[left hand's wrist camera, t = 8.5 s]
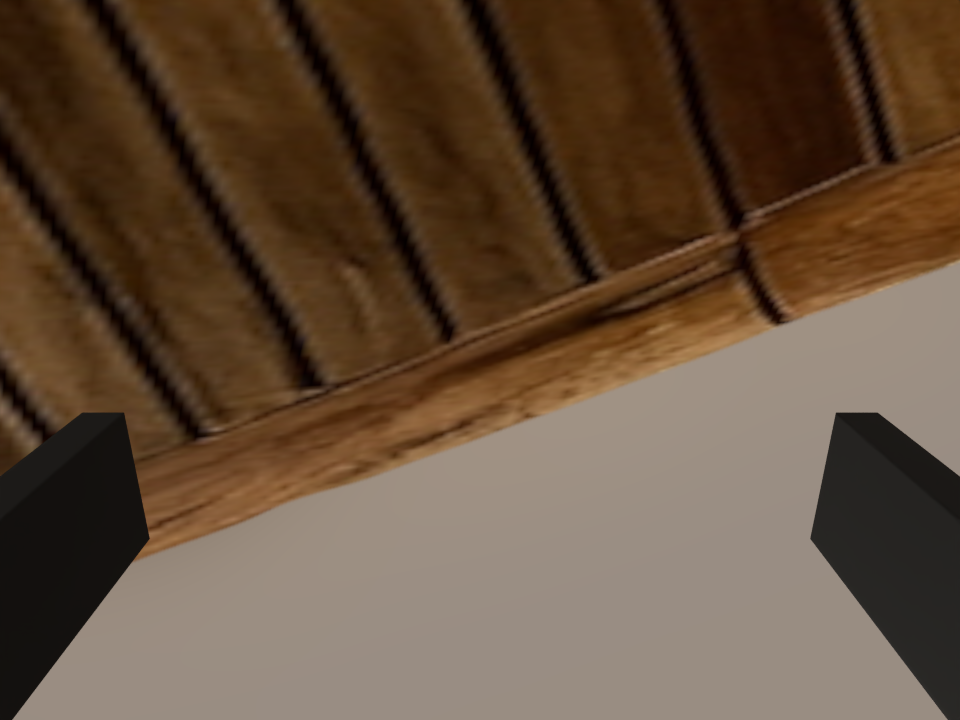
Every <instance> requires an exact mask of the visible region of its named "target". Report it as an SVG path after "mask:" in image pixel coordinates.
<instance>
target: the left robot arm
mask: <svg viewBox="0 0 960 720" xmlns="http://www.w3.org/2000/svg"><path fill="white" fill-rule="evenodd" d="M149 539H150V538H149V533H148V528H147V523H146V518H145V514H144V509H143V504H142V499H141V494H140V489H139V484H138V479H137V474H136V469H135V464H134V460H133V455H132V450H131V445H130V440H129V435H128V430H127V425H126V420H125V415H124V413H81V414H80V415H79V416H77V417H76V418H75V419H74V420H72V421H71V422H70V423H68V424H67V425H66V426H65V427H63V428H62V429H61V430H59V431H58V432H57V433H56V434H54V435H53V436H52V437H50V438H49V439H48V440H47V441H45V442H44V443H43V444H41V445H40V446H39V447H38V448H36V449H35V450H34V451H32V452H31V453H30V454H29V455H27V456H26V457H25V458H23V459H22V460H21V461H20V462H18V463H17V464H16V465H14V466H13V467H12V468H11V469H9V470H8V471H7V472H5V473H4V474H3V475H2V476H0V720H12V719H13V718H14V717H15V715H16V714H17V713H18V711H19V710H20V709H21V707H22V706H23V705H24V704H25V702H26V701H27V700H28V698H29V697H30V696H31V694H32V693H33V692H34V690H35V689H36V688H37V686H38V685H39V684H40V682H41V681H42V680H43V678H44V677H45V676H46V675H47V673H48V672H49V671H50V669H51V668H52V667H53V665H54V664H55V663H56V661H57V660H58V659H59V657H60V656H61V655H62V653H63V652H64V651H65V650H66V648H67V647H68V646H69V644H70V643H71V642H72V640H73V639H74V638H75V636H76V635H77V634H78V632H79V631H80V630H81V628H82V627H83V626H84V625H85V623H86V622H87V621H88V619H89V618H90V617H91V615H92V614H93V613H94V611H95V610H96V609H97V607H98V606H99V605H100V603H101V602H102V601H103V599H104V598H105V597H106V596H107V594H108V593H109V592H110V590H111V589H112V588H113V586H114V585H115V584H116V582H117V581H118V580H119V578H120V577H121V576H122V574H123V573H124V572H125V571H126V569H127V568H128V567H129V565H130V564H131V563H132V561H133V560H134V559H135V557H136V556H137V555H138V553H139V552H140V551H141V549H142V548H143V547H144V545H145V544H146V543H147V542H148V540H149ZM811 540H812V542H813V543H814V544H815V545H816V547H817V548H818V549H819V551H820V552H821V553H822V555H823V556H824V557H825V559H826V560H827V561H828V563H829V564H830V565H831V567H832V568H833V569H834V570H835V572H836V573H837V574H838V576H839V577H840V578H841V580H842V581H843V582H844V584H845V585H846V586H847V588H848V589H849V590H850V592H851V593H852V594H853V596H854V597H855V598H856V599H857V601H858V602H859V603H860V605H861V606H862V607H863V609H864V610H865V611H866V613H867V614H868V615H869V617H870V618H871V619H872V621H873V622H874V623H875V625H876V626H877V627H878V628H879V630H880V631H881V632H882V634H883V635H884V636H885V638H886V639H887V640H888V642H889V643H890V644H891V646H892V647H893V648H894V650H895V651H896V652H897V653H898V655H899V656H900V657H901V659H902V660H903V661H904V663H905V664H906V665H907V667H908V668H909V669H910V671H911V672H912V673H913V675H914V676H915V677H916V679H917V680H918V681H919V682H920V684H921V685H922V686H923V688H924V689H925V690H926V692H927V693H928V694H929V696H930V697H931V698H932V700H933V701H934V702H935V704H936V705H937V706H938V707H939V709H940V710H941V711H942V713H943V714H944V715H945V717H946V718H947V719H948V720H960V476H958V475H957V474H956V473H955V472H953V471H952V470H951V469H949V468H948V467H947V466H946V465H944V464H943V463H942V462H940V461H939V460H938V459H937V458H935V457H934V456H933V455H931V454H930V453H929V452H928V451H926V450H925V449H924V448H922V447H921V446H920V445H919V444H917V443H916V442H915V441H913V440H912V439H911V438H910V437H908V436H907V435H906V434H904V433H903V432H902V431H900V430H899V429H898V428H897V427H895V426H894V425H893V424H892V423H890V422H889V421H888V420H886V419H885V418H884V417H882V416H881V415H880V414H879V413H836V415H835V420H834V425H833V430H832V435H831V440H830V445H829V450H828V455H827V460H826V465H825V469H824V474H823V479H822V484H821V489H820V494H819V499H818V504H817V509H816V514H815V519H814V524H813V528H812V533H811Z"/></svg>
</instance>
